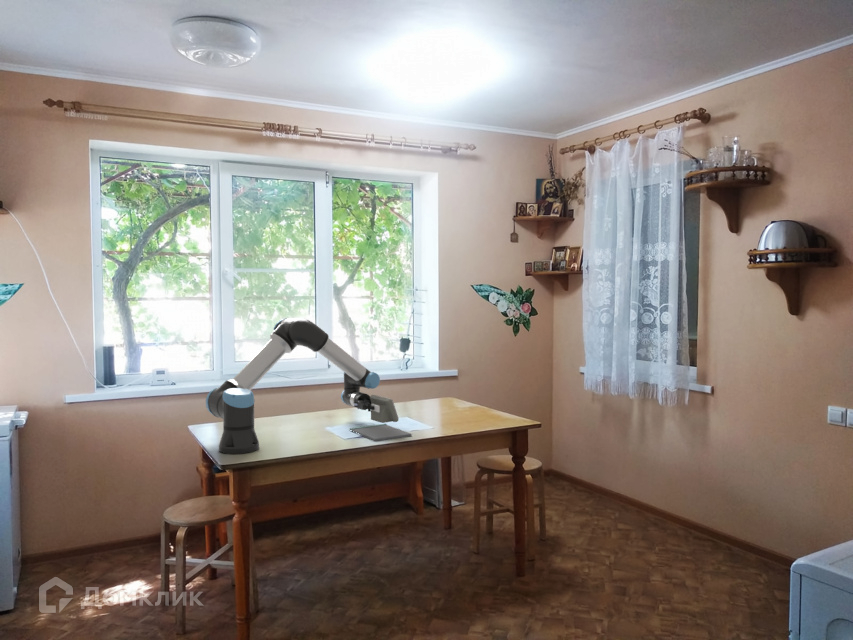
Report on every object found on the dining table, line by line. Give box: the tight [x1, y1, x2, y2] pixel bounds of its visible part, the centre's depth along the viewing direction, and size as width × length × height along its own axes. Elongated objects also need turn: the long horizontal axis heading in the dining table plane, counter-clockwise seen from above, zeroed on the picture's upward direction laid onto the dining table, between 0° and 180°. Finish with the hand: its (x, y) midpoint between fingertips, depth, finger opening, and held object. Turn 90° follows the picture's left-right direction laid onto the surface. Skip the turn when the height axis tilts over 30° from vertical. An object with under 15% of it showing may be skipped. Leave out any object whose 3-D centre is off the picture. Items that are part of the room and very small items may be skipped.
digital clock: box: [369, 394, 399, 424], centre depth 264 cm, size 16×9×11 cm, turn 27°
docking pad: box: [349, 423, 412, 442], centre depth 264 cm, size 18×24×1 cm
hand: (384, 408), depth 261 cm, fingers closed on digital clock, 5 cm apart
